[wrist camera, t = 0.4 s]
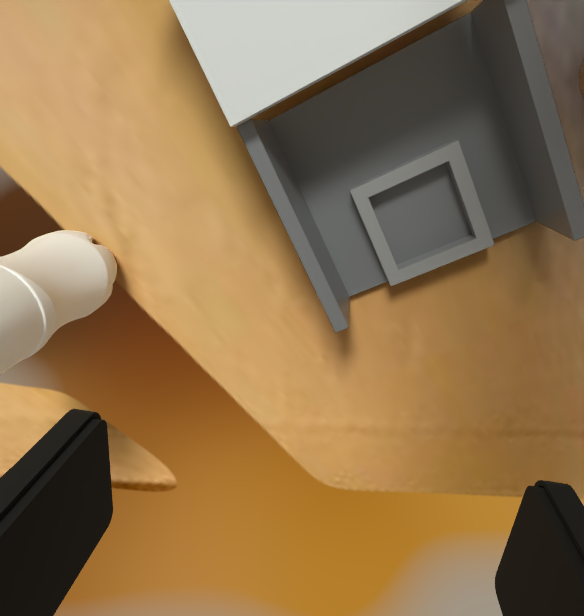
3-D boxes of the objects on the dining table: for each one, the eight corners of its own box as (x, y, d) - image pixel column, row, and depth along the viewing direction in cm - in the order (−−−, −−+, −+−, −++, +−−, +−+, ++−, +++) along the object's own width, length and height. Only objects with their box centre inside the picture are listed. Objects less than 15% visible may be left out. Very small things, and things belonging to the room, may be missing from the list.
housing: (258, 126, 35) (236, 126, 28) (482, 7, 31) (518, -27, 24) (338, 297, 39) (335, 332, 33) (546, 213, 35) (591, 234, 28)
